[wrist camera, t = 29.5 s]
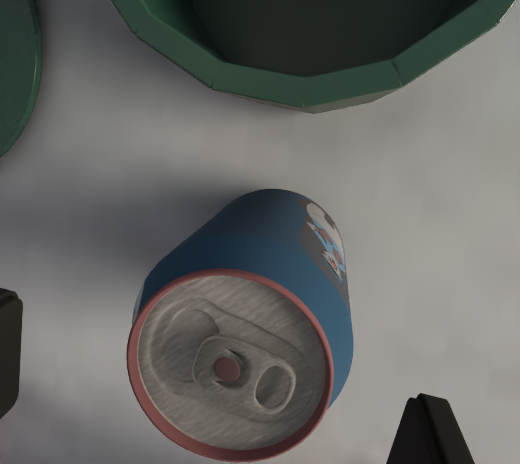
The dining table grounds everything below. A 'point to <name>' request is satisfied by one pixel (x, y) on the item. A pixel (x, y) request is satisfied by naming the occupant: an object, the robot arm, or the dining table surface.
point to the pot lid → (18, 67)
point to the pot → (309, 44)
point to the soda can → (245, 330)
